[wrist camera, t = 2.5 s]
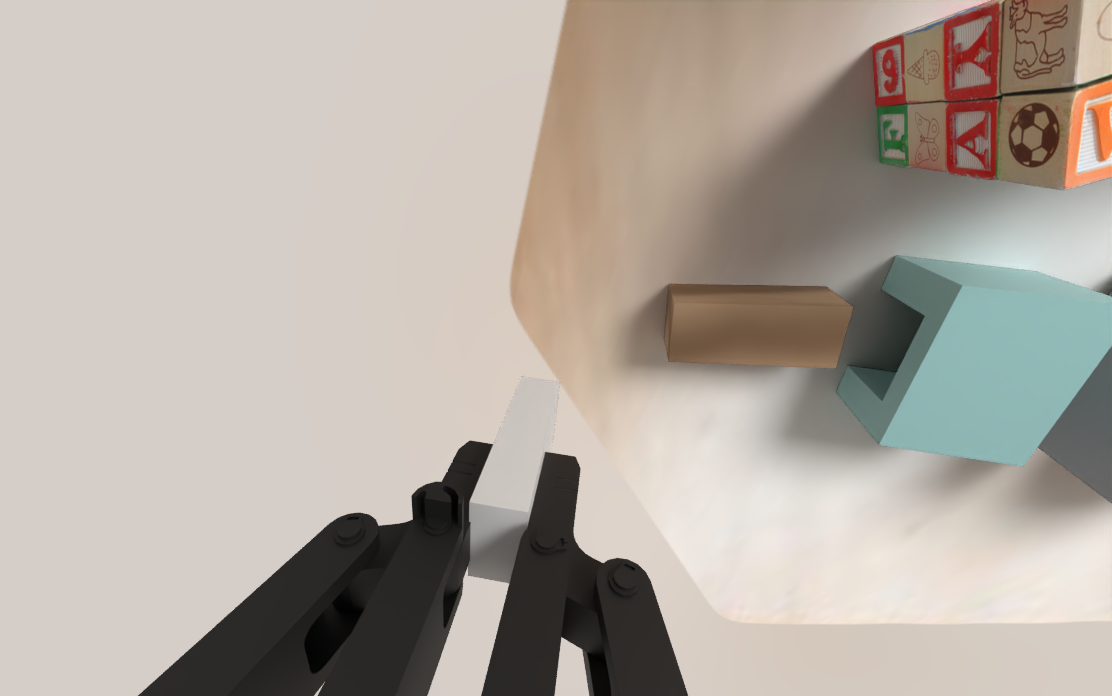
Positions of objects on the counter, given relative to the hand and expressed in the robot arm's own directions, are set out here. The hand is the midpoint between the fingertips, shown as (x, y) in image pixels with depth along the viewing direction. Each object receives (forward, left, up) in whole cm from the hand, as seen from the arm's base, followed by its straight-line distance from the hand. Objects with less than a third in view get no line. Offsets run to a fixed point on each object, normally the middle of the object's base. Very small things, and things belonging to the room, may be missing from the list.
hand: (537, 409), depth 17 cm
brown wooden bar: (0, +11, -16) cm, 19 cm away
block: (0, +23, -15) cm, 28 cm away
